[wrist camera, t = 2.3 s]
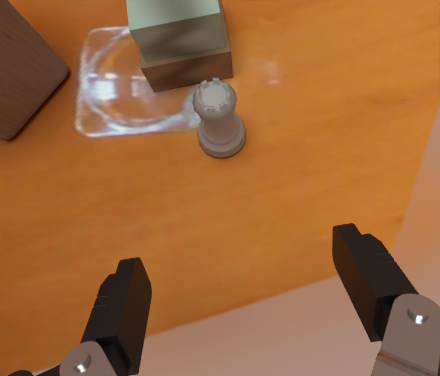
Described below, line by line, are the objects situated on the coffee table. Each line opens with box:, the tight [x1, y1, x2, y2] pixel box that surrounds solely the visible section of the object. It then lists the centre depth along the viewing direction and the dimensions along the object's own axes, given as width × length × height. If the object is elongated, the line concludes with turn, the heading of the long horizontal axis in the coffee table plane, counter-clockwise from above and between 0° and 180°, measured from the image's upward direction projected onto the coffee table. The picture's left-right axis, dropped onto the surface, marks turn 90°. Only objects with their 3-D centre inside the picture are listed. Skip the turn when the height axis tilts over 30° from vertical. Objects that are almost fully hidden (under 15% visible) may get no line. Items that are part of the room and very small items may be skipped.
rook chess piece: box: [193, 78, 246, 158], centre depth 26 cm, size 4×4×8 cm
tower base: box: [126, 0, 233, 92], centre depth 29 cm, size 8×8×8 cm
